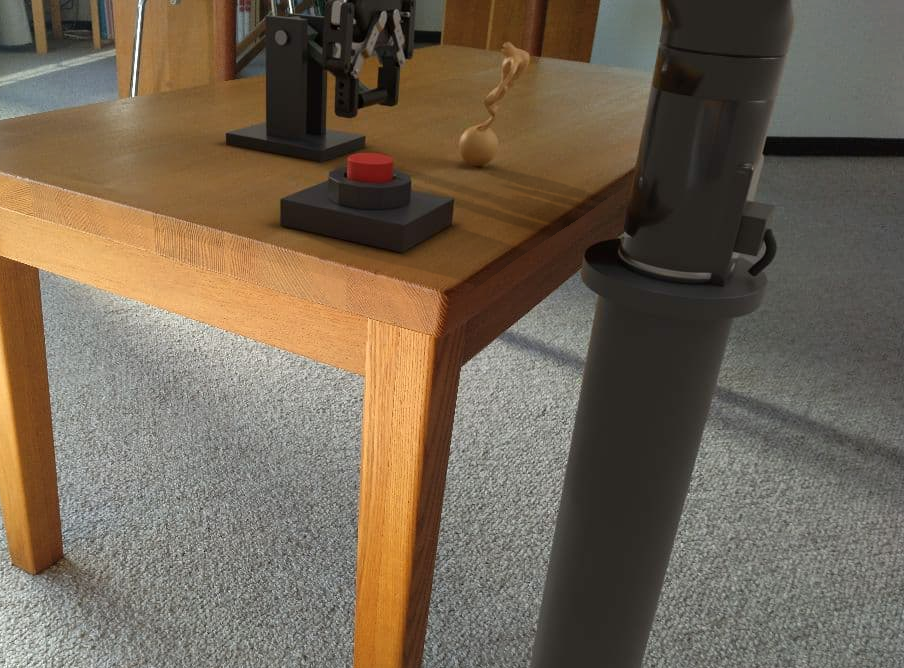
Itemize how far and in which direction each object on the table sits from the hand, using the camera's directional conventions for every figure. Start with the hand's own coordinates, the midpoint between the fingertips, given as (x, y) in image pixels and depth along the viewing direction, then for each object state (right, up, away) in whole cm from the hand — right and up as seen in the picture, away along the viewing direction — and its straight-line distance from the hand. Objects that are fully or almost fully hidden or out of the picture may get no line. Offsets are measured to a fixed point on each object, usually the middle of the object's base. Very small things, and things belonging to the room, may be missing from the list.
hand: (367, 110), depth 90 cm
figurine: (+12, -5, +1) cm, 13 cm away
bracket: (-8, -2, +6) cm, 10 cm away
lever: (-4, +4, +1) cm, 6 cm away
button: (0, -12, -20) cm, 23 cm away
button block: (0, -15, -18) cm, 24 cm away
